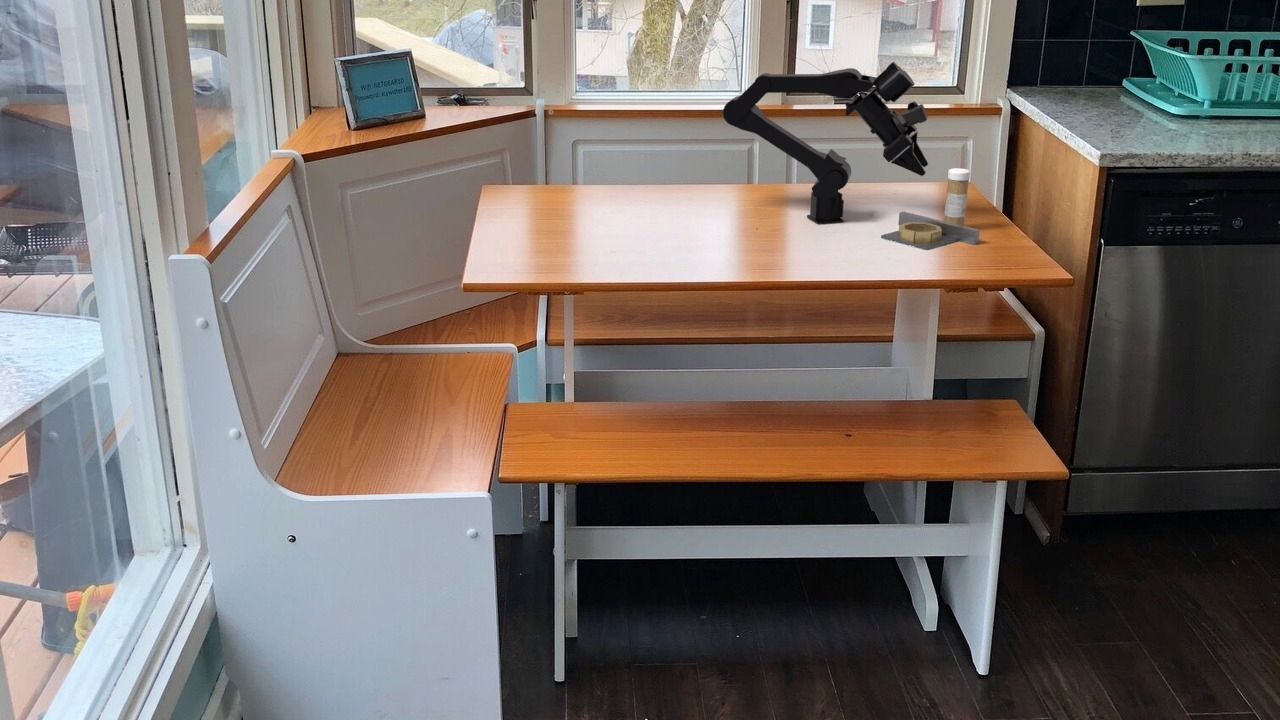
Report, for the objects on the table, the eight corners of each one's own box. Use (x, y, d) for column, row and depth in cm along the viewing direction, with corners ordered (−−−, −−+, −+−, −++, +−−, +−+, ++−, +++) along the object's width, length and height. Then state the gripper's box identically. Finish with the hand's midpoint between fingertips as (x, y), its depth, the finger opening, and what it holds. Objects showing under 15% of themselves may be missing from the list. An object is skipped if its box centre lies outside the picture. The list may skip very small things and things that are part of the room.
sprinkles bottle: (951, 226, 270) (957, 166, 265) (968, 230, 267) (974, 170, 262) (938, 229, 267) (944, 169, 262) (955, 233, 264) (961, 173, 259)
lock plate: (866, 234, 263) (867, 220, 262) (902, 224, 271) (903, 211, 270) (942, 254, 249) (943, 240, 248) (978, 243, 257) (979, 229, 256)
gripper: (903, 98, 251) (953, 154, 252) (910, 85, 268) (956, 137, 269) (862, 134, 256) (911, 188, 257) (871, 118, 273) (917, 170, 274)
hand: (925, 170), depth 264 cm, fingers open, 9 cm apart
